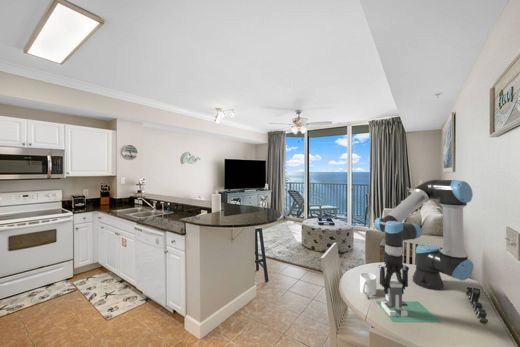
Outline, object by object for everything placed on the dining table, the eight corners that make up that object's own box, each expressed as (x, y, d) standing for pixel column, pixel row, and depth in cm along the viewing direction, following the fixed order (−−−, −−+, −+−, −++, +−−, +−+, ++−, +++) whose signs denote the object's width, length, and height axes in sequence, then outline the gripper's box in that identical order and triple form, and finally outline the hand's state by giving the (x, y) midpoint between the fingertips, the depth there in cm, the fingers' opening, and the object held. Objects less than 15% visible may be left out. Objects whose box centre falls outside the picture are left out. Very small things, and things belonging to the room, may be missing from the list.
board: (417, 303, 116) (417, 298, 116) (441, 324, 100) (441, 318, 100) (375, 303, 117) (375, 297, 117) (392, 324, 101) (392, 318, 101)
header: (397, 305, 113) (397, 301, 113) (407, 316, 105) (407, 311, 105) (381, 305, 113) (381, 301, 113) (390, 316, 105) (390, 311, 105)
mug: (370, 302, 118) (370, 283, 118) (355, 296, 124) (355, 278, 124) (378, 293, 126) (378, 275, 126) (363, 288, 132) (363, 271, 132)
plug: (395, 300, 111) (395, 279, 111) (403, 307, 106) (403, 285, 105) (385, 300, 112) (385, 279, 111) (392, 307, 106) (392, 284, 106)
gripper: (407, 250, 112) (407, 296, 112) (371, 250, 113) (371, 295, 113) (417, 256, 105) (417, 305, 105) (379, 256, 105) (378, 304, 105)
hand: (393, 300), depth 109 cm, fingers closed on plug, 5 cm apart
